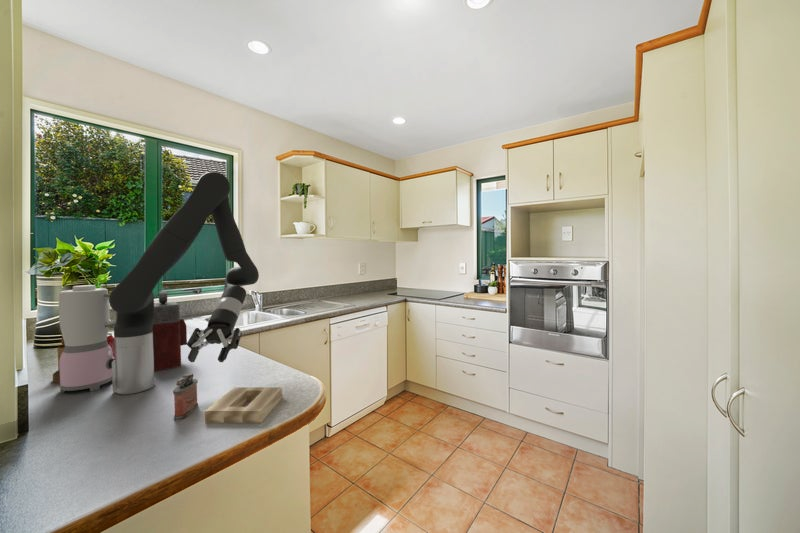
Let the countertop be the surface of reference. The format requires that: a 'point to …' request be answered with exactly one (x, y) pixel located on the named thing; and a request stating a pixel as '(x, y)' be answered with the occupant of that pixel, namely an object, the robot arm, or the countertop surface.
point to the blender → (85, 338)
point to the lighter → (185, 397)
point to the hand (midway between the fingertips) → (205, 361)
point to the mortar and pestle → (60, 350)
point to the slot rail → (255, 412)
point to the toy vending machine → (167, 334)
